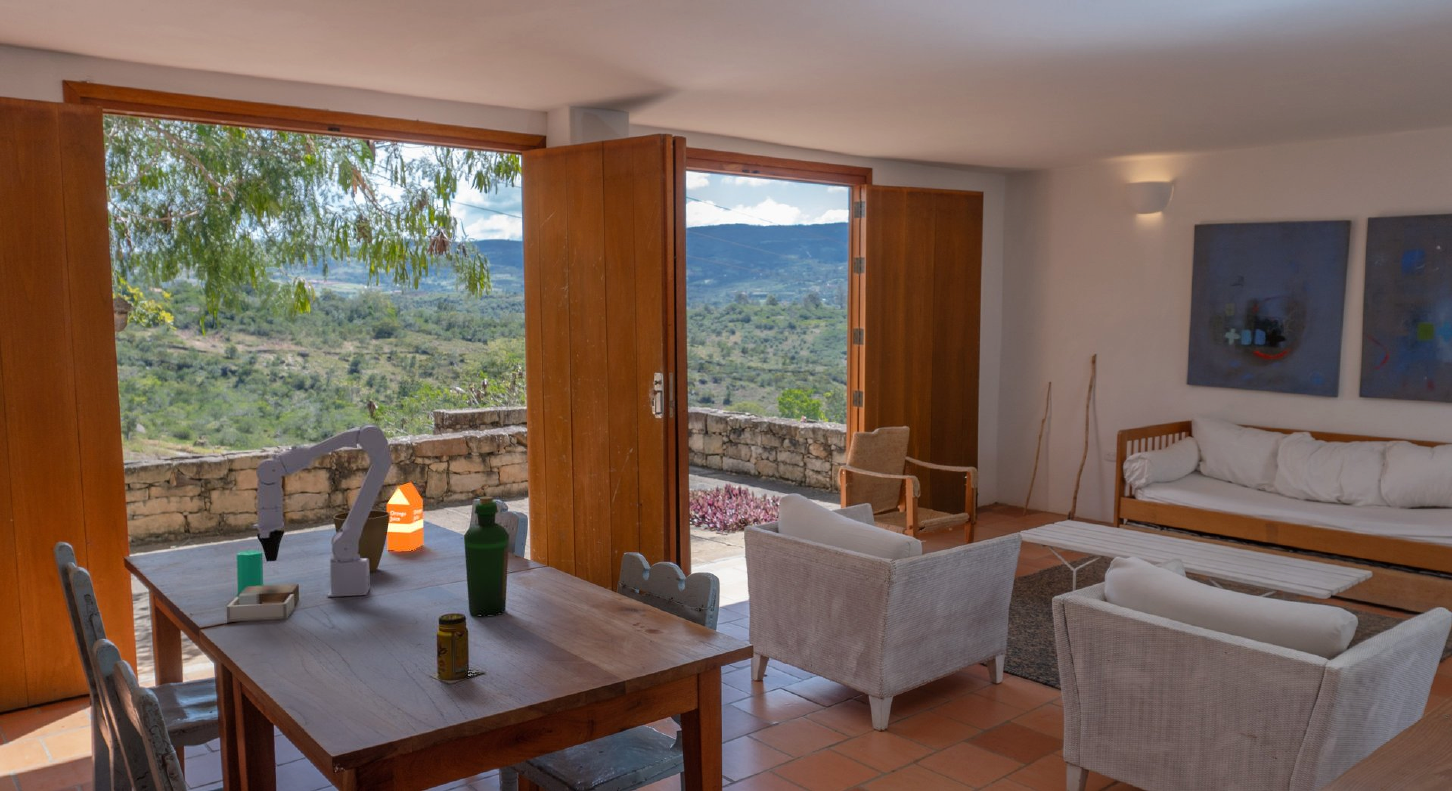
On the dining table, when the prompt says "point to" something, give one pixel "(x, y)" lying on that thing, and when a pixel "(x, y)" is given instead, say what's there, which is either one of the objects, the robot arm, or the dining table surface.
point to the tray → (259, 610)
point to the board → (274, 592)
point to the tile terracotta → (271, 602)
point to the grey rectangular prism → (249, 599)
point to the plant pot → (370, 535)
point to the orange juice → (405, 519)
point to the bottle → (486, 561)
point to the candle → (249, 569)
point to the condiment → (452, 649)
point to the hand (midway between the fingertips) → (271, 560)
